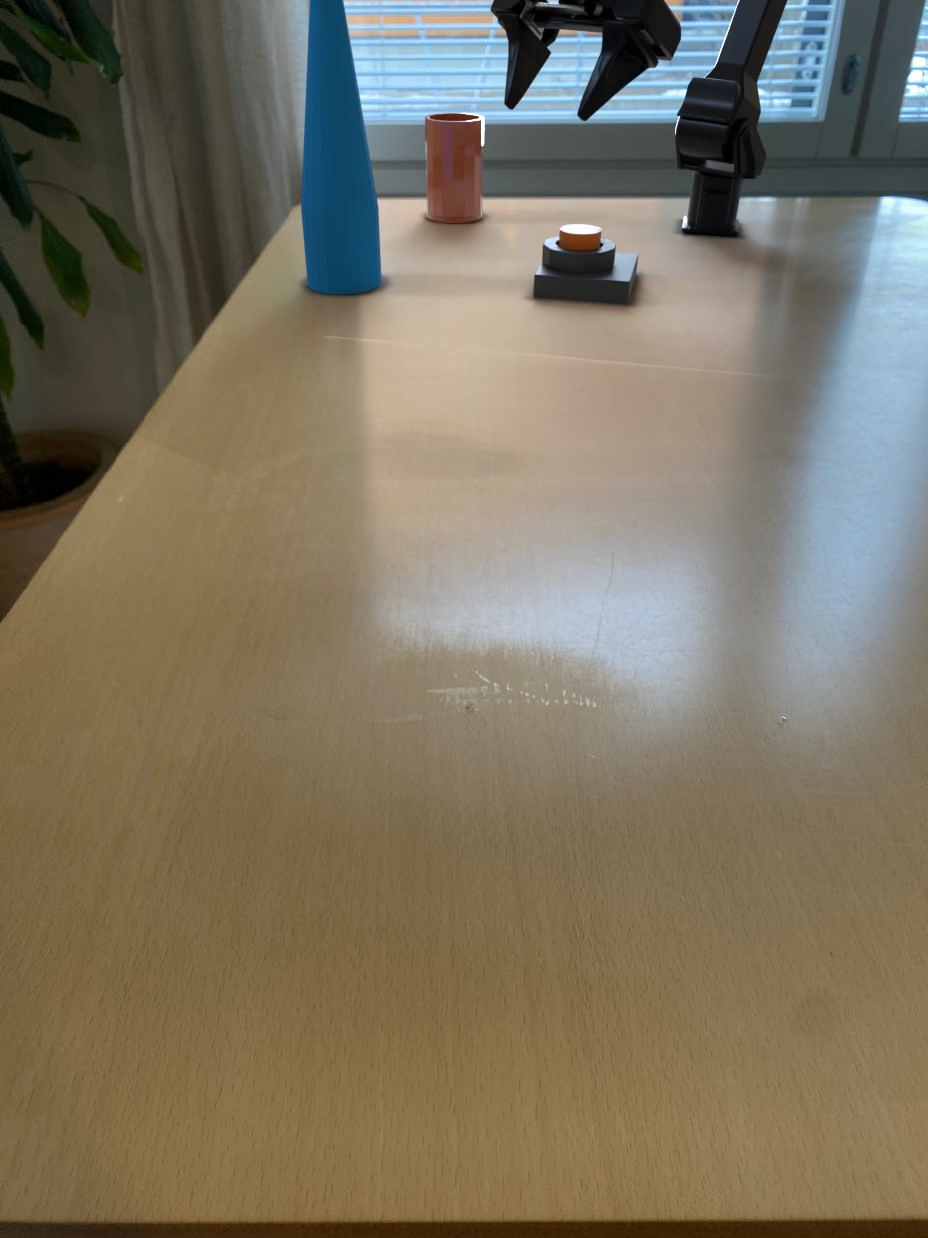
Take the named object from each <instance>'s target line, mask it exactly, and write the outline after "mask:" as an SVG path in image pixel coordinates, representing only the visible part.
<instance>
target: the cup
mask: <svg viewBox="0 0 928 1238" xmlns="http://www.w3.org/2000/svg"><path fill="white" fill-rule="evenodd" d="M424 133H425V200H426V201H425V203H426V205H425V207H426V218H427V219H429V220H430V221H433V222H437V223H444V224H466V223H472V222H477V221H479V220H481V219H482V217H483V207H484V205H483V204H484V203H483V202H484V195H483V194H484V151H485V150H484V148H485V147H484V145H485V117H484V116H483V115H480V114H476V113H468V112H439V113H431V114H428V115H426V116H425V117H424Z"/></svg>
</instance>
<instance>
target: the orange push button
mask: <svg viewBox="0 0 928 1238" xmlns="http://www.w3.org/2000/svg"><path fill="white" fill-rule="evenodd" d="M558 236H559V247H561V248H565V249H569V250H595V249H598V248H600V242H601V238H602V228H600V227H598V226H596V225H592V224H585V223H583V224H581V223H575V224H574V223H573V224H565V225H563V226H561V227H559V235H558Z"/></svg>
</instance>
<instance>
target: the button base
mask: <svg viewBox="0 0 928 1238" xmlns="http://www.w3.org/2000/svg"><path fill="white" fill-rule="evenodd" d="M616 248H617V244H616V243H615V242H614V241H613V240H610V239H608V238H604V237H601V242H600V248H598V249H595V250H569V249H565V248H561V247H559V235H557V236H552V237H550V238H547V239H545V240H544V242H543V244H542V253H541V263H540V265H539V266H538V268H537V270H536V271H535V273H534V277H533V279H534V280H533V293H532V294H533V298H534V299H547V300H558V301H559V300H560V301H571V302H572V301H573V302H583V303H584V302H586V303H598V304H610V305H611V304H613V305H621V306H623V305H624V306H628V304H629V302H630V298H631V295H632V292H633V287H634V285H635V282H636V277H637V271H638V263H639V253H633V252H618V251H616V250H617V249H616Z"/></svg>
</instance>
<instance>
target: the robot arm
mask: <svg viewBox="0 0 928 1238" xmlns="http://www.w3.org/2000/svg"><path fill="white" fill-rule="evenodd" d="M557 2H558V3H553V2H551V3H550V2H549V1H548V0H493V1H492V3H491V5H490V9H489V11H490V12H491V13H492V14H493V16H495V18H496V19H497V23H498V25H499V26H500V27H501V28H502V29H503V30H504V31H505V35H506V37H507V66H506V67H507V68H506V77H505V78H506V79H505V88H504V99H503V102H504V106H505V107H506V108H507V109H508V110H510V111H511V110H512V111H513V110H514V109H515V108H516V107H517V106H518V104H519V103H520V102H521V100H522V99H523V98H524V96H525V95H526V93H527V92H528V90H529V88H530V87H531V85H532V84H533V82H534V81H535V79H536V78H537V76H538V75H539V73H540V72H541V70H542V69H543V67H544V66H545V64H546V63H547V62H548V59H549V58H550V57H551V55H552V51H551V50H550V49H549V47H550V46H551V45H552V44H553V43H554V42H556V40H557V38H558V35H559V33H560V30H565V31H575V32H586V33H597V34H598V33H599V34H601V50H600V52H599V55H598V58H597V60H596V62H595V65H594V67H593V69H592V73H591V74H590V77H589V80H588V82H587V84H586V87H585V90H584V92H583V94H582V96H581V100H580V103H579V107H578V109H577V112H576V116H577V118H579V120H580V121H582V122H587V121H588V120H590V118H591V117H593V116H594V115H595V114H596V113H597V112H598V111H599V110H600V109H601V108H603V106H605V105H606V104H607V103H608V102H609V101H611V100H612V98H614V97H615V95H617V94H618V93H619V92H620V91H621V90H623V89H624V88H625V87H627V86H628V85H629V84H631V83H632V82H633V81H634V80H636V79H637V78H638V77H639V76H641V75H642V74H644V72H646V71H647V70H649V69H655V68H657V66H658V65H659V62H660V61H669V62H670V61H672V59H673V58H674V56H675V54H676V52H677V49H678V47H679V45H680V43H681V40H682V26H681V23H680V21H679V19H678V17H676V15H675V14H674V12H673V11H672V9H671V8H670V6H669V5H668V3H667V2H666V0H558V1H557ZM787 4H788V0H737V4H736V7H735V9H734V12H733V14H732V17H731V20H730V23H729V25H728V26H729V27H728V30H727V32H726V35H725V37H724V40H723V42H722V44H721V45H722V46H721V48H720V51H719V54H718V56H717V59H716V62H715V65H714V67H713V68H712V69H711V70H710V71H709V72H708V73H707V74H706V75H705V76H704V77H702V76H693V77H692V78H691V80H690V81H689V82H688V85H687V88H686V92H685V95H684V100H683V102H682V104H681V106H680V108H679V109H678V111H677V113H676V116H677V117H678V118H677V121H676V124H675V128H674V139H675V140H674V141H675V153H676V164H677V165H676V167H677V170H681V171H685V170H686V171H691V172H693V173H692V179H691V180H692V181H691V185H690V187H691V188H690V193H689V201H688V208H687V209H688V210H687V214H686V215H684V216H683V221H682V226H681V232H683V233H693V234H705V235H706V234H709V235H722V236H724V235H725V236H738V235H739V232H740V220H739V219H738V218H737V217H738V211H739V206H740V205H739V204H740V199H741V193H742V187H743V182H744V181H743V180H755V179H757V177H758V176H761V174H762V172H763V169H764V167H765V163H766V160H767V157H768V156H767V152H766V149H765V147H764V145H763V141H762V139H761V136H760V134H759V131H758V129H757V128H758V124H759V121H760V117H761V115H762V107H761V106H762V105H761V99H760V94H759V86H758V82H759V78H760V75H761V72H762V70H763V67H764V65H765V62H766V60H767V58H768V54H769V51H770V49H771V46H772V44H773V41H774V38H775V35H776V33H777V30H778V27H779V25H780V23H781V19H782V16H783V14H784V11H785V9H786V6H787Z"/></svg>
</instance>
